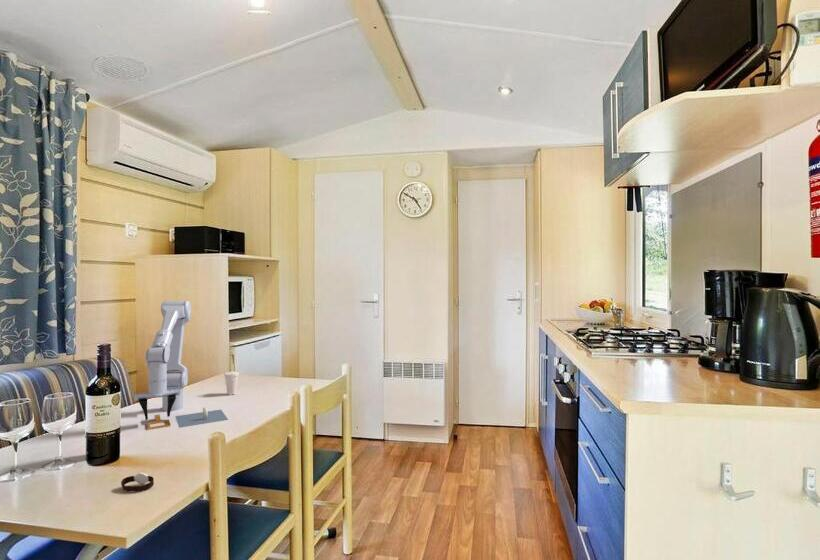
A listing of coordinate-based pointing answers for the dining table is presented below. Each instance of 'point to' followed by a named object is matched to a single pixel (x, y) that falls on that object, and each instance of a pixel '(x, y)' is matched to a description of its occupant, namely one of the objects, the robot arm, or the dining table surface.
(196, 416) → the stand
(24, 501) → the dining table surface
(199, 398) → the dining table surface
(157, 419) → the loop
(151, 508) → the dining table surface
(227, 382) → the smoothie
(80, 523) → the dining table surface
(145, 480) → the watch
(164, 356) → the robot arm
